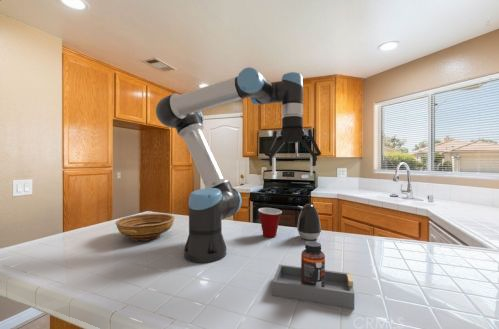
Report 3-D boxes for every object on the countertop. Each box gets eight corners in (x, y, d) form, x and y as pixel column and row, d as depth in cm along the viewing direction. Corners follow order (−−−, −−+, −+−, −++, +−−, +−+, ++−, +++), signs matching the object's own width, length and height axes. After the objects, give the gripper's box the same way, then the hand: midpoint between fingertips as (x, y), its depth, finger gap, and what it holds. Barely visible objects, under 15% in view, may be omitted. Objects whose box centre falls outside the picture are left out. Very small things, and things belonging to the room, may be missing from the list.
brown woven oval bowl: (153, 250, 91) (153, 229, 91) (96, 246, 94) (96, 226, 94) (185, 228, 120) (185, 213, 120) (141, 226, 124) (141, 211, 124)
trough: (272, 295, 60) (272, 276, 60) (279, 276, 70) (279, 260, 70) (354, 308, 54) (354, 288, 54) (349, 286, 64) (349, 268, 64)
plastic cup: (275, 241, 101) (275, 213, 101) (253, 237, 106) (253, 210, 106) (285, 234, 110) (285, 208, 110) (265, 231, 116) (265, 206, 115)
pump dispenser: (294, 235, 110) (294, 202, 110) (316, 234, 111) (316, 201, 110) (300, 242, 100) (300, 206, 99) (324, 241, 100) (324, 205, 100)
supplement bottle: (326, 294, 59) (326, 248, 58) (301, 291, 60) (301, 246, 59) (323, 282, 64) (323, 240, 64) (300, 280, 65) (300, 239, 65)
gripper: (328, 117, 87) (327, 175, 87) (261, 120, 94) (261, 174, 94) (328, 113, 80) (328, 176, 80) (256, 117, 87) (256, 175, 87)
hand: (292, 175), depth 87 cm, fingers open, 13 cm apart
